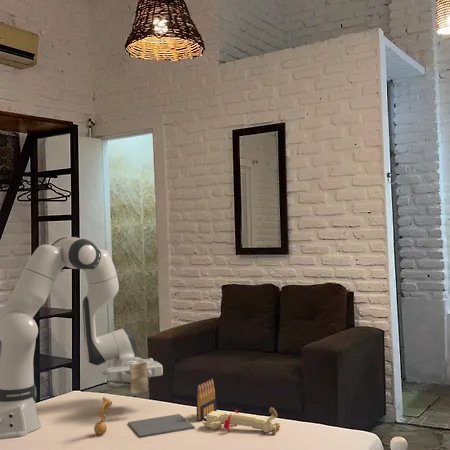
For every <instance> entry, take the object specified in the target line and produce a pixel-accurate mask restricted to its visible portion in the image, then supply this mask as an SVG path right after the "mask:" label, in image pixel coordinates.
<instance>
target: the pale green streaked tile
mask: <svg viewBox="0 0 450 450" xmlns="http://www.w3.org/2000/svg"><path fill="white" fill-rule="evenodd" d="M130 374H131V380H130V382H129V386H130V387H129V388H130V393H131V394H141V393H148V390H149V389H148V388H149V387H148V384H149V383H148V378H147V363H146V362H136V363H130Z"/></svg>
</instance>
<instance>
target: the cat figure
mask: <svg viewBox="0 0 450 450" xmlns="http://www.w3.org/2000/svg"><path fill="white" fill-rule="evenodd" d="M268 412H269V414H271V415H270V416H269V417H268V418H267V419H266V418H263V417H258V416H255V415H250V414H245V413H239V411H238V410H237V409H235V410H234V413H230V412H221V411H218V410H217V411H212V412H211V413H209V414H208V415H206V417H204V418H203V421H201V424H203V426H204V427H207V428H210V429H211V430H212V429H213V430H216V429H218V428H219V427H220V426H222V425H223V426H222V427H223V429H226V431H227V432H229V433H230V432H231V429H230V427H231V425H232V426H235V427H238V426H242V427H243V426H244V427H251V428H252V429H256V430H261V431H262V432H263V433H269V432H271V434H272V435H276V434H277V432H279V431H280V429H281V426H280V421H276V422H272V420H275V419H276V418H277V417H278V413H277V411H276V409H275V408H274V407H270V408H269V409H268Z"/></svg>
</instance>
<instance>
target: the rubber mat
mask: <svg viewBox="0 0 450 450" xmlns="http://www.w3.org/2000/svg"><path fill="white" fill-rule="evenodd" d="M127 424H128V426H129V427H130V428H131V429H132V430H133V431H134V433H135V434H136V435H137V436H138V437H139V438H147V437H152V436H158V435H165V434H171V433H176V432H181V431H187V430H193V429H194V430H195V429H196V427H195V426H194V424H193V423H191V422H190V421H189V420H187V419H186V418H185V417H184V416H182V415H181V414H180V413H178V414H177V413H176V414H170V415H164V416H158V417H151V418H145V419H139V420H133V421H132V420H131V421H128V422H127Z"/></svg>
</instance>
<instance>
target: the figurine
mask: <svg viewBox="0 0 450 450" xmlns="http://www.w3.org/2000/svg"><path fill="white" fill-rule="evenodd" d="M102 402H103V403H102V405H101V407H100V408H99V410H98V412H97V413H96V415H95V417H99V418H100V419H101V420H100V421H98V422H96V423H95V424H94V426H93V430H94V431H93V432H94V433H95V434H96V435H99V436H102V435H104V434H105V433H106V432H107V428H108V427H107V424H106V423H105V420H106V415H105V414H107V412H108V410H110V409H111V407H112V404H113V401H112V400H111V399H109V398H107V397H105V396H103V397H102Z"/></svg>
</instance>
